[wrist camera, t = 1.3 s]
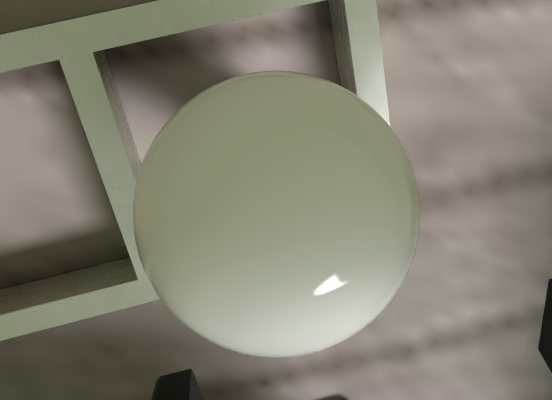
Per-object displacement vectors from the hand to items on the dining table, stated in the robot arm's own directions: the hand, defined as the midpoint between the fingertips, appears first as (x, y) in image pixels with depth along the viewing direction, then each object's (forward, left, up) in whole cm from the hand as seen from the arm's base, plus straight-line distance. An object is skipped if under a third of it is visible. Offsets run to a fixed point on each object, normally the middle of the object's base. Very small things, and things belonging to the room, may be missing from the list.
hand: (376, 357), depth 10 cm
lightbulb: (+2, +1, -11) cm, 11 cm away
